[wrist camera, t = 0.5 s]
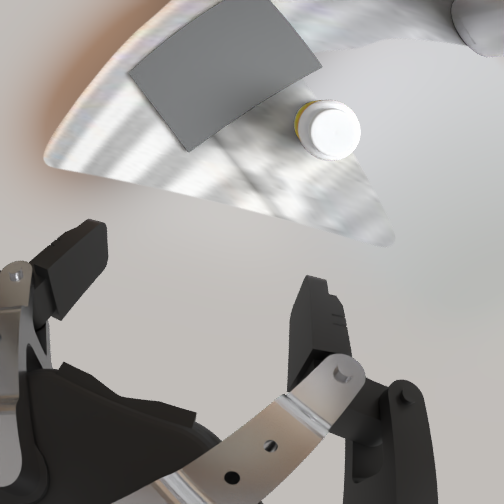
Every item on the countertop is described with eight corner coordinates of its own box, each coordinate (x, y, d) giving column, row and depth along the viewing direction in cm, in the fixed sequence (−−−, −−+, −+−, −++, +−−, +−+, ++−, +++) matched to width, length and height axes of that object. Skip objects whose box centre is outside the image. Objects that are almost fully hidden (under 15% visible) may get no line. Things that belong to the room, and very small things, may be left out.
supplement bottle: (286, 137, 30) (289, 151, 21) (303, 93, 28) (313, 87, 19) (332, 155, 31) (352, 177, 22) (349, 112, 28) (378, 117, 19)
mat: (254, -14, 21) (253, -17, 21) (321, 67, 26) (322, 66, 25) (131, 73, 27) (128, 73, 27) (190, 151, 32) (188, 152, 31)
